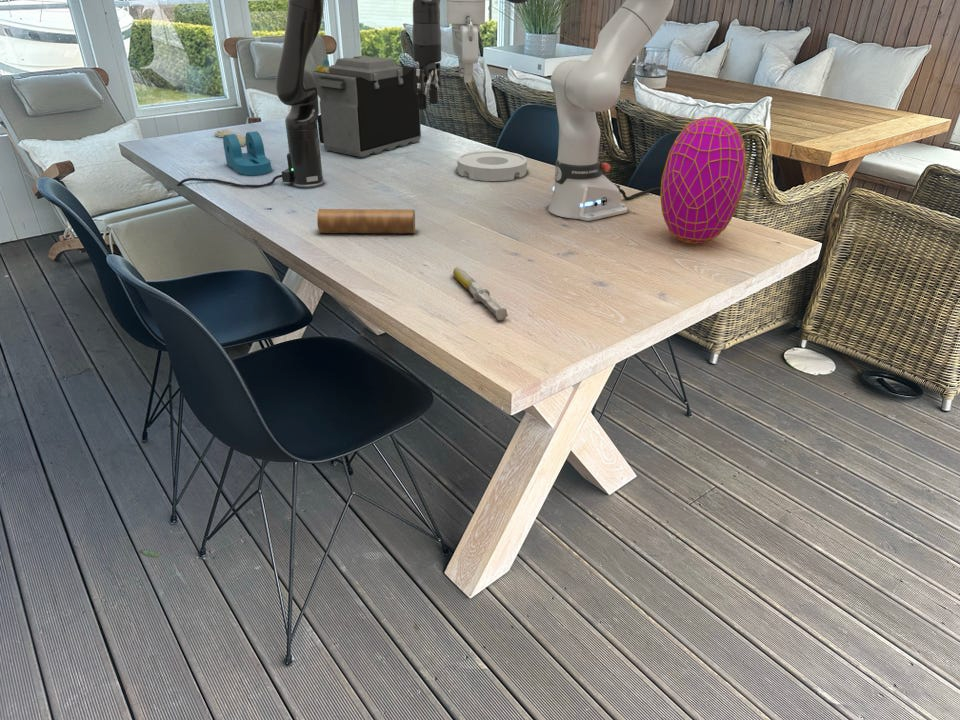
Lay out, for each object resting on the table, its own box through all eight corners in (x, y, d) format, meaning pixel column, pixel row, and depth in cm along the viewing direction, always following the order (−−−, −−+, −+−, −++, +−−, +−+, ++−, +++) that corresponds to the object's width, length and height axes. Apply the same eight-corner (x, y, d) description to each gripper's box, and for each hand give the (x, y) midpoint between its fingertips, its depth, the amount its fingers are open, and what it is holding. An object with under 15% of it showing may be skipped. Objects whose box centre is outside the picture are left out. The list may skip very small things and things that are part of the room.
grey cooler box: (383, 133, 276) (378, 52, 261) (425, 141, 265) (422, 56, 250) (314, 150, 251) (304, 61, 235) (358, 160, 240) (350, 67, 224)
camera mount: (227, 164, 233) (221, 132, 227) (257, 160, 238) (252, 129, 233) (244, 176, 220) (239, 143, 215) (276, 172, 225) (271, 139, 220)
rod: (318, 236, 175) (316, 213, 172) (323, 228, 180) (320, 205, 177) (413, 236, 176) (413, 214, 173) (415, 228, 181) (414, 206, 178)
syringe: (449, 274, 155) (449, 263, 153) (465, 272, 156) (464, 260, 154) (490, 323, 135) (491, 310, 133) (508, 319, 136) (508, 307, 134)
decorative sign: (264, 139, 260) (239, 143, 254) (265, 142, 261) (240, 146, 255) (233, 128, 277) (209, 131, 271) (233, 130, 277) (209, 134, 271)
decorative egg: (709, 261, 163) (734, 131, 148) (638, 240, 174) (655, 118, 159) (744, 240, 175) (770, 118, 160) (676, 222, 187) (694, 107, 171)
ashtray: (459, 161, 239) (459, 150, 237) (525, 163, 239) (526, 151, 237) (455, 180, 219) (455, 167, 217) (527, 181, 219) (528, 169, 217)
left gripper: (423, 38, 187) (424, 101, 195) (403, 43, 175) (405, 110, 183) (449, 39, 185) (449, 103, 193) (430, 45, 173) (431, 112, 181)
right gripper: (485, 18, 150) (484, 86, 157) (474, 12, 167) (473, 73, 174) (456, 18, 149) (456, 86, 156) (448, 12, 167) (448, 73, 174)
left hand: (428, 106), depth 188 cm, fingers open, 8 cm apart
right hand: (465, 79), depth 165 cm, fingers open, 8 cm apart
